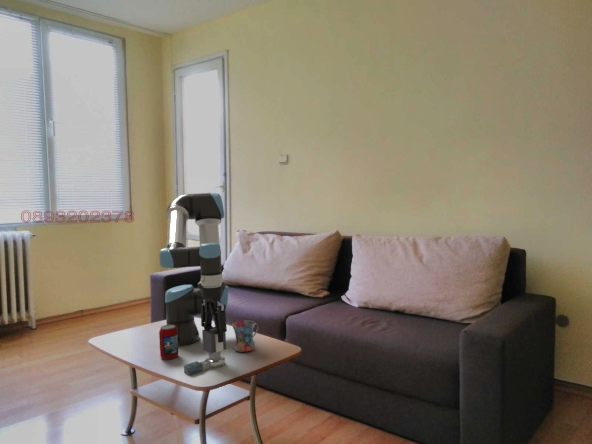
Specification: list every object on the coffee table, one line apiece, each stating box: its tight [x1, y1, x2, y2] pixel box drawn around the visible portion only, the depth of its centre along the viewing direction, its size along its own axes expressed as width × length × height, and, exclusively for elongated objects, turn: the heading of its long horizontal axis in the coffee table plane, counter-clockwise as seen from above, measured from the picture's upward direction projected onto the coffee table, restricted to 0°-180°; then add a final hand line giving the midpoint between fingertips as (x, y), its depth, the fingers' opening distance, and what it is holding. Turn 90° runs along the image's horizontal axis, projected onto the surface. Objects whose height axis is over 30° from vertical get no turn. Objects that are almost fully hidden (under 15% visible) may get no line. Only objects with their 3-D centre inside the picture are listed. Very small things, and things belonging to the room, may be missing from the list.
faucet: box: [183, 351, 226, 376], centre depth 161 cm, size 7×15×7 cm, turn 132°
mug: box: [231, 319, 260, 353], centre depth 179 cm, size 12×9×11 cm
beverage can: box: [158, 324, 179, 360], centre depth 173 cm, size 7×7×12 cm
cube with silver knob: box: [201, 326, 227, 353], centre depth 163 cm, size 6×6×8 cm
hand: (214, 348), depth 163 cm, fingers closed on cube with silver knob, 6 cm apart
